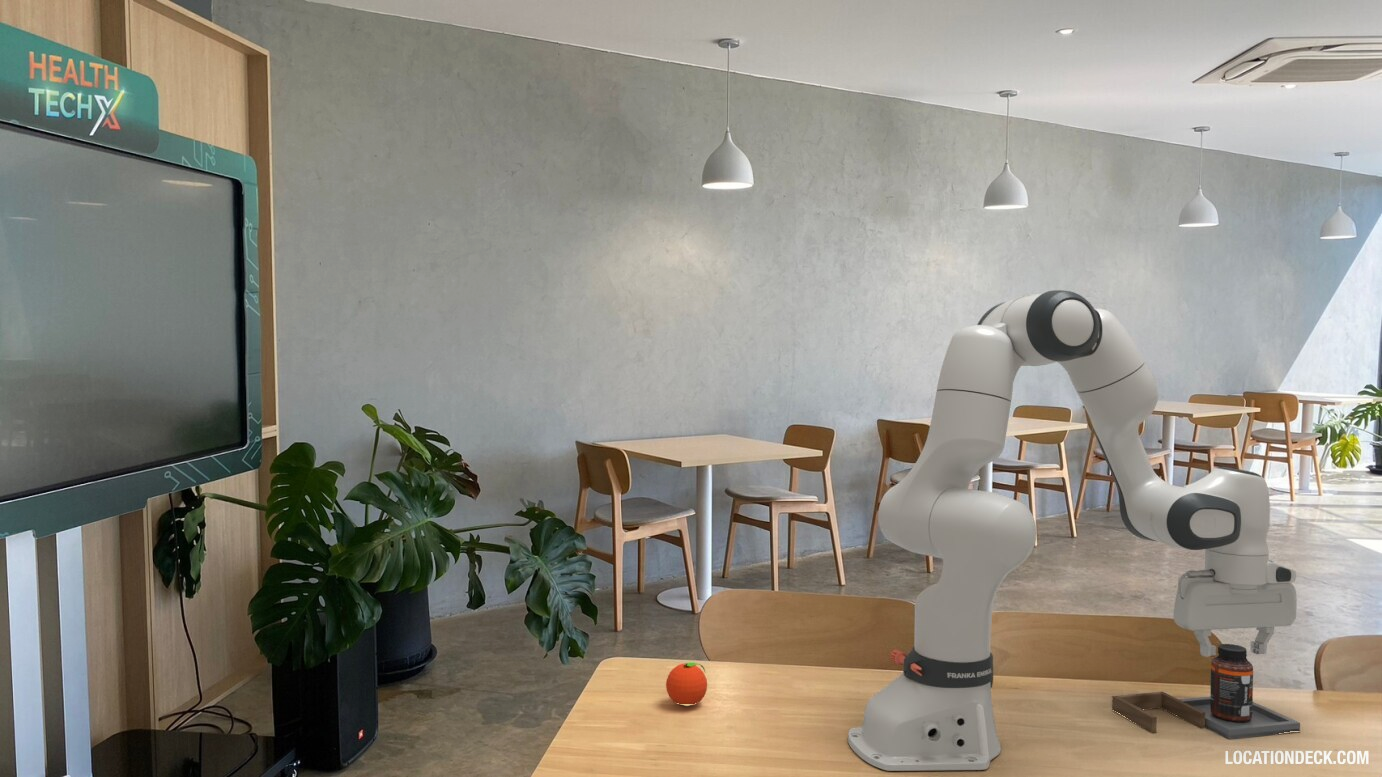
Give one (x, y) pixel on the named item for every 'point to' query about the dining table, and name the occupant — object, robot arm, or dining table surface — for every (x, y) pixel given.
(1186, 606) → the robot arm
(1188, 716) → the frame
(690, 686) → the clementine
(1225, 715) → the supplement bottle
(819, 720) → the dining table surface
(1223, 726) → the tray
